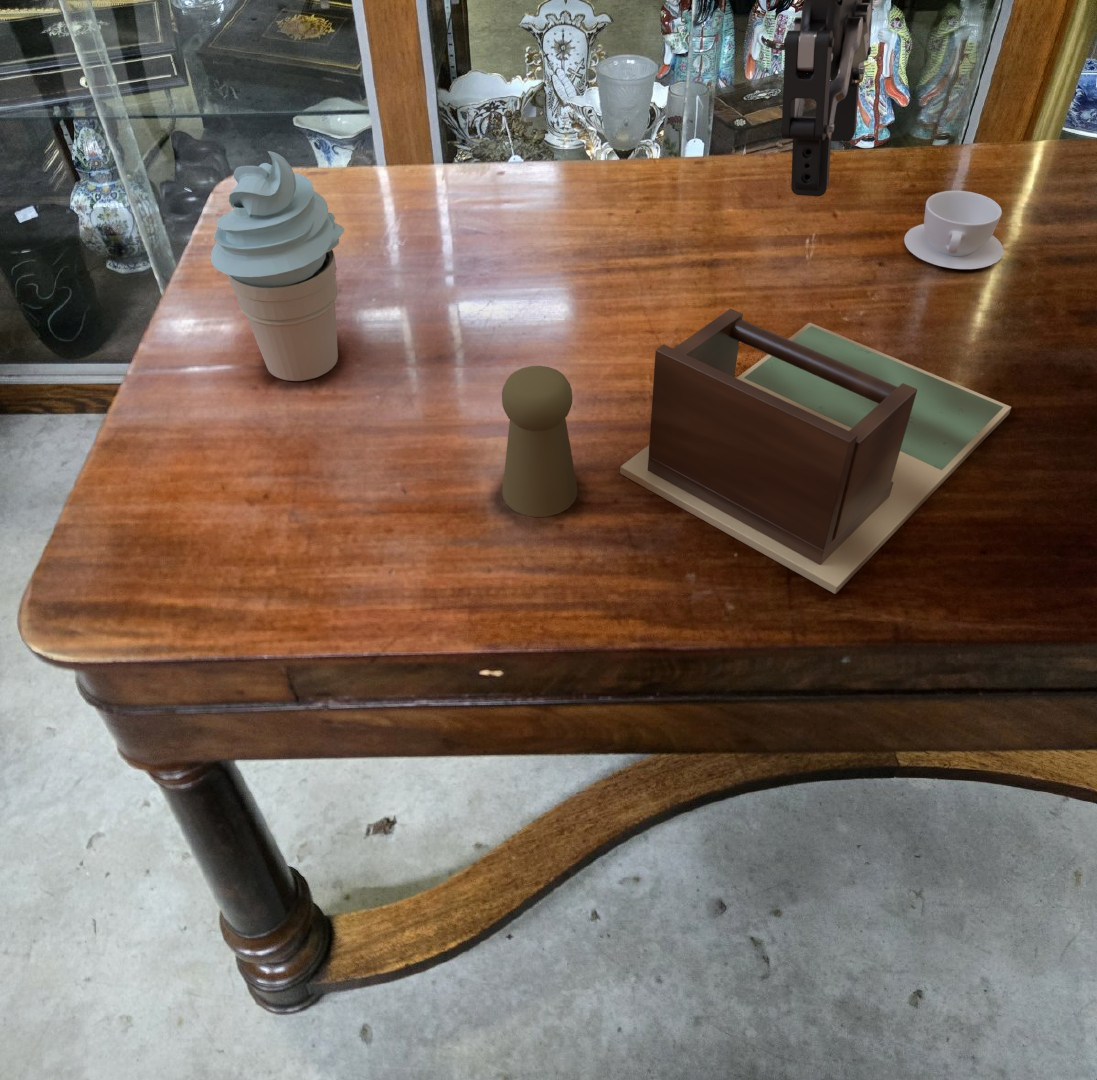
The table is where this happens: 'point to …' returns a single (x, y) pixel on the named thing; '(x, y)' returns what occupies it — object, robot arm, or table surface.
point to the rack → (772, 439)
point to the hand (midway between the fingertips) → (824, 164)
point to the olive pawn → (538, 442)
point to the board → (927, 449)
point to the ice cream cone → (282, 267)
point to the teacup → (957, 231)
